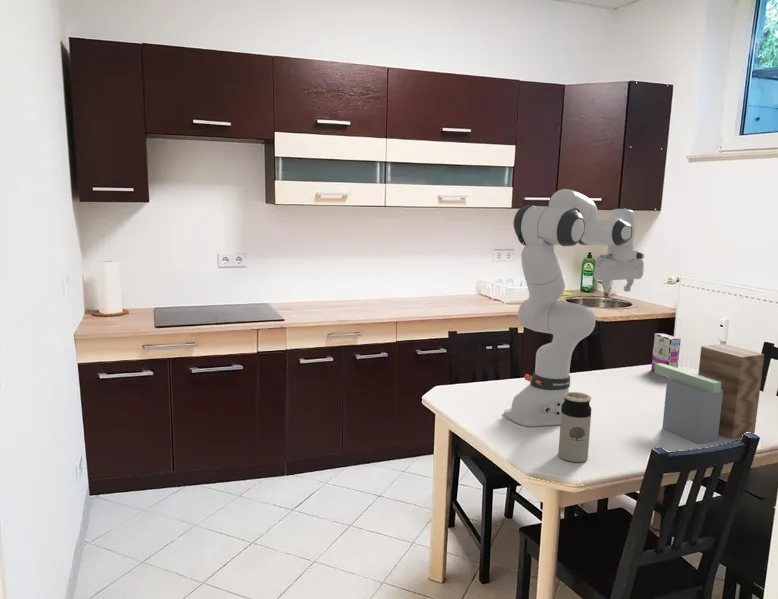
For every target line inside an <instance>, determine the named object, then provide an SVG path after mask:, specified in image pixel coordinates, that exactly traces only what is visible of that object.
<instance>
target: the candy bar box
mask: <svg viewBox="0 0 778 599" xmlns="http://www.w3.org/2000/svg"><path fill="white" fill-rule="evenodd" d="M681 340H682V339H681V338H679V337H676V336H673V335H669V334H666V333H654V339H653V348H652V357H651V358H652V359H651V366H650V367H651V370H650V371H653V372H654V371H655V364H659V363H663V364H666V365H669V366H672V367H675V368H679V360H680V358H679V357H680V356H679V355H680V349H681V348H680V347H681Z"/></svg>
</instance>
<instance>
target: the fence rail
mask: <svg viewBox="0 0 778 599" xmlns="http://www.w3.org/2000/svg"><path fill="white" fill-rule="evenodd" d="M653 373H654V374H656V375H660V376H662V377H666V378H668V379H670V380H671V379H674V380H677V381H680V382H683V383H686V384H688V385H691V386H694V387H697V388H700V389H703V390H706V391H709V392H712V393H716V392H720V391H721V382H719V381H716V380H713V379H710V378H707V377H704V376H700V375H698V374H697V373H694V372H691V371H688V370H684V369H680V368H679V367H678V368H675V367H672V366H669V365H666V364H663V363H659V364H655V371H653Z"/></svg>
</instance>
